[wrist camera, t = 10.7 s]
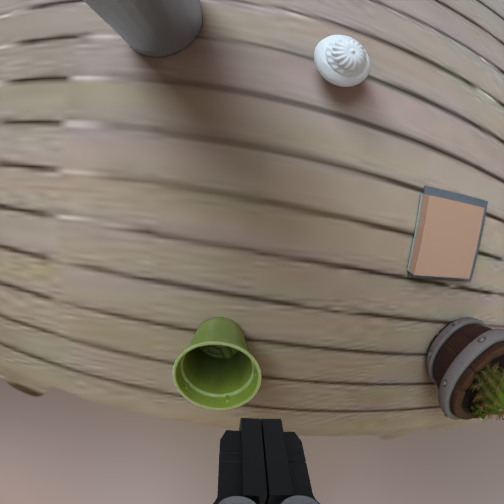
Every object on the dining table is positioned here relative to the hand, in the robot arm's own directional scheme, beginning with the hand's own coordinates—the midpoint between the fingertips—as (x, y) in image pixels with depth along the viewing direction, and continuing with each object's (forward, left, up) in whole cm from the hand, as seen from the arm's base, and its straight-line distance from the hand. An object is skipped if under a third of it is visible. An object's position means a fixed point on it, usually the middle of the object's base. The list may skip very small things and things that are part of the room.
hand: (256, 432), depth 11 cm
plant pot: (+12, -2, -27) cm, 30 cm away
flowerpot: (+13, +34, -27) cm, 45 cm away
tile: (-4, +21, -26) cm, 34 cm away
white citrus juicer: (-22, +8, -27) cm, 36 cm away
